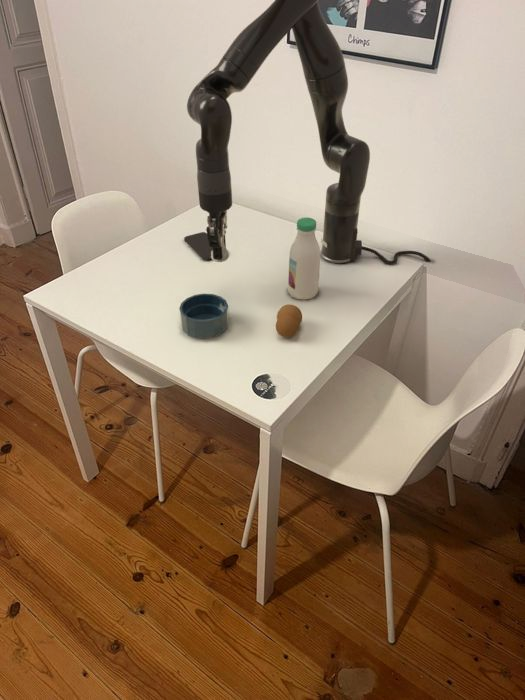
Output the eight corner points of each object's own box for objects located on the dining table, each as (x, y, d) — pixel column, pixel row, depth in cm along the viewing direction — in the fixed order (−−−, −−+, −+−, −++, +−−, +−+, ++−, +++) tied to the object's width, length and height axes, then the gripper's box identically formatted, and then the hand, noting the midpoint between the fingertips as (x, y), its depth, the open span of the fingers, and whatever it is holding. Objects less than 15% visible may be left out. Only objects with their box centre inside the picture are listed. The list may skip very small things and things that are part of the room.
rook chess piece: (226, 263, 129) (224, 233, 124) (208, 261, 130) (206, 232, 125) (231, 254, 132) (229, 225, 127) (213, 252, 133) (211, 223, 128)
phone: (204, 259, 150) (182, 237, 160) (204, 261, 150) (182, 239, 160) (227, 252, 153) (204, 231, 163) (227, 254, 153) (205, 233, 163)
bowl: (232, 313, 131) (231, 294, 127) (224, 341, 122) (223, 322, 119) (187, 310, 132) (185, 292, 128) (177, 338, 123) (174, 319, 120)
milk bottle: (321, 287, 140) (326, 216, 127) (313, 302, 134) (318, 230, 122) (292, 282, 142) (295, 212, 129) (284, 297, 136) (286, 225, 124)
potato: (302, 320, 129) (303, 300, 125) (300, 343, 122) (301, 322, 118) (277, 319, 129) (278, 298, 125) (274, 341, 122) (274, 320, 118)
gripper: (226, 200, 114) (230, 269, 125) (235, 174, 125) (239, 240, 135) (191, 199, 114) (198, 268, 125) (204, 173, 125) (210, 239, 136)
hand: (219, 253), depth 130 cm, fingers closed on rook chess piece, 4 cm apart
